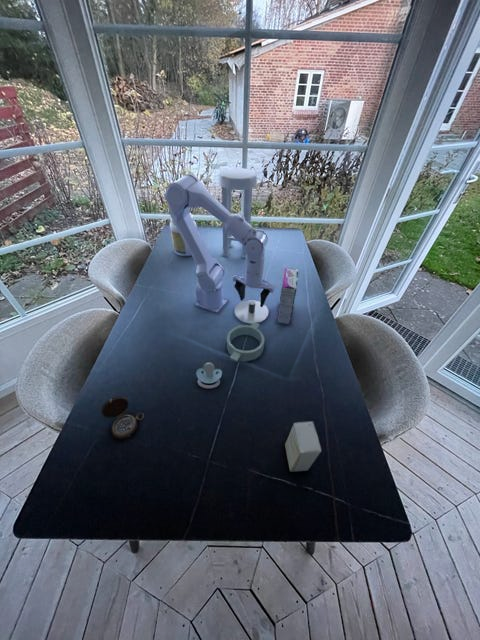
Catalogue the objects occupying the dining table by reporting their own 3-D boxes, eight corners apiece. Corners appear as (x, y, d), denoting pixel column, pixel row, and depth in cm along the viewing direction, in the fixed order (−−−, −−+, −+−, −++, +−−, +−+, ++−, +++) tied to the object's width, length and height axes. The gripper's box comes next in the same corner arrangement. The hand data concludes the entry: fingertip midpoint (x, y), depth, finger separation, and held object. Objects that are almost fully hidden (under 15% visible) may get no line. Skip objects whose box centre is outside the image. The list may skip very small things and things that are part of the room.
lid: (228, 318, 96) (228, 307, 92) (243, 298, 104) (243, 288, 100) (260, 329, 92) (261, 319, 88) (273, 308, 100) (274, 297, 96)
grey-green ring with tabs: (216, 359, 82) (216, 350, 79) (240, 325, 93) (240, 316, 90) (250, 373, 78) (251, 364, 75) (271, 336, 90) (272, 327, 87)
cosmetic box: (284, 444, 64) (292, 421, 55) (302, 443, 64) (313, 420, 56) (290, 473, 59) (299, 452, 51) (309, 471, 60) (322, 451, 51)
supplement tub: (195, 243, 136) (191, 209, 124) (202, 254, 128) (199, 219, 116) (171, 247, 132) (165, 213, 120) (177, 259, 124) (171, 224, 112)
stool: (224, 242, 137) (222, 166, 112) (253, 245, 135) (258, 168, 111) (218, 258, 125) (214, 177, 101) (250, 261, 124) (255, 180, 100)
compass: (116, 445, 63) (106, 431, 58) (106, 418, 68) (96, 404, 63) (149, 425, 66) (142, 411, 61) (137, 402, 71) (130, 387, 66)
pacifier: (220, 390, 74) (222, 372, 79) (220, 378, 70) (222, 359, 74) (194, 388, 75) (198, 370, 79) (192, 376, 70) (196, 358, 74)
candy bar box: (278, 303, 102) (284, 267, 91) (291, 305, 101) (299, 269, 90) (275, 323, 94) (281, 286, 83) (289, 325, 93) (297, 288, 82)
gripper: (280, 269, 85) (275, 301, 95) (239, 258, 90) (238, 290, 99) (272, 280, 80) (268, 313, 90) (229, 268, 85) (230, 301, 94)
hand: (252, 302), depth 94 cm, fingers open, 7 cm apart
